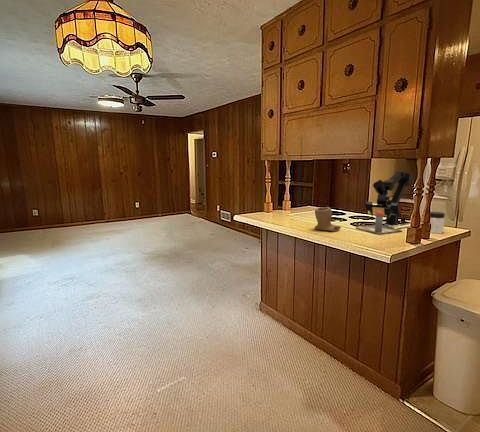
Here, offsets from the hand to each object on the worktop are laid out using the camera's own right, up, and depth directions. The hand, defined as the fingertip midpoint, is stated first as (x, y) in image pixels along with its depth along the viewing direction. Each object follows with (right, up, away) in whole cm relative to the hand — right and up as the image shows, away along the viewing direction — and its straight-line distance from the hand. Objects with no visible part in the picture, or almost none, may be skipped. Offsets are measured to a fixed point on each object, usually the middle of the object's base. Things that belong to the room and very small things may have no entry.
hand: (380, 217), depth 185 cm
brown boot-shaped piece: (-32, -9, +6) cm, 34 cm away
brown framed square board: (+1, -8, +4) cm, 9 cm away
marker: (-3, -9, -4) cm, 10 cm away
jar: (+32, -9, -2) cm, 34 cm away
